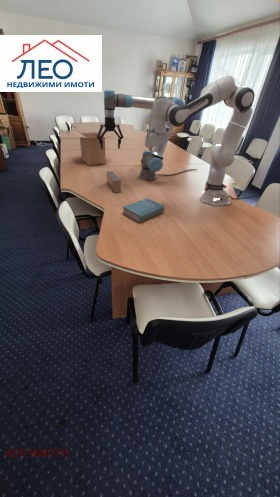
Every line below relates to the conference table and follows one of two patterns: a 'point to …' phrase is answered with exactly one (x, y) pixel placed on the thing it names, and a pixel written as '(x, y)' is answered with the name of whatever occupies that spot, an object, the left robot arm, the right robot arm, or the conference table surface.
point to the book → (142, 209)
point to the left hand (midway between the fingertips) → (110, 148)
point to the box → (92, 147)
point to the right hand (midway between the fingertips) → (155, 153)
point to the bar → (113, 181)
